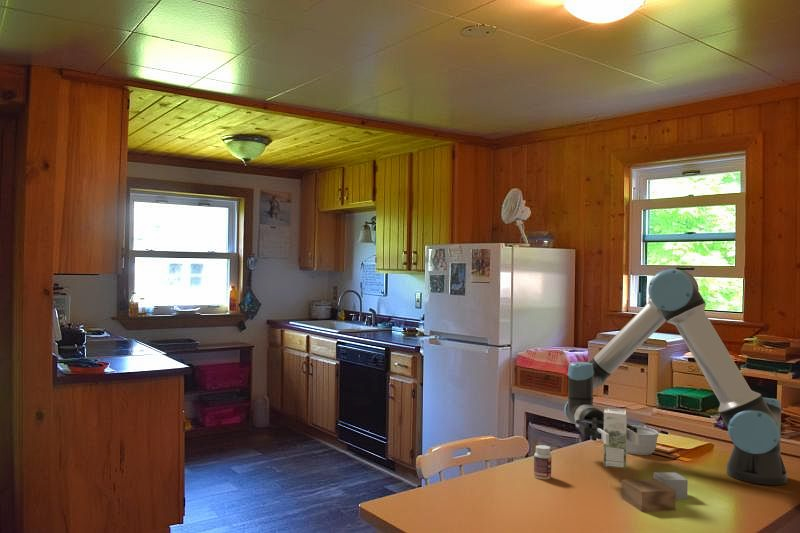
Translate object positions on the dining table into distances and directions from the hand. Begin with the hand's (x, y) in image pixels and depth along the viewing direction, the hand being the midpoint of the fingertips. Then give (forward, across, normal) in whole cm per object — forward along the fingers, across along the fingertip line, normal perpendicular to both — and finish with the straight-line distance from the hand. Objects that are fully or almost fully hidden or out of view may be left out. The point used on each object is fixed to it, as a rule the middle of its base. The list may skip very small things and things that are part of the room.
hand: (622, 439), depth 161 cm
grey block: (-1, -13, -15) cm, 20 cm away
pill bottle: (-14, +17, -14) cm, 26 cm away
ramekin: (-43, -22, -14) cm, 50 cm away
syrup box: (-5, 0, -8) cm, 10 cm away
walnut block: (+6, -4, -15) cm, 16 cm away
